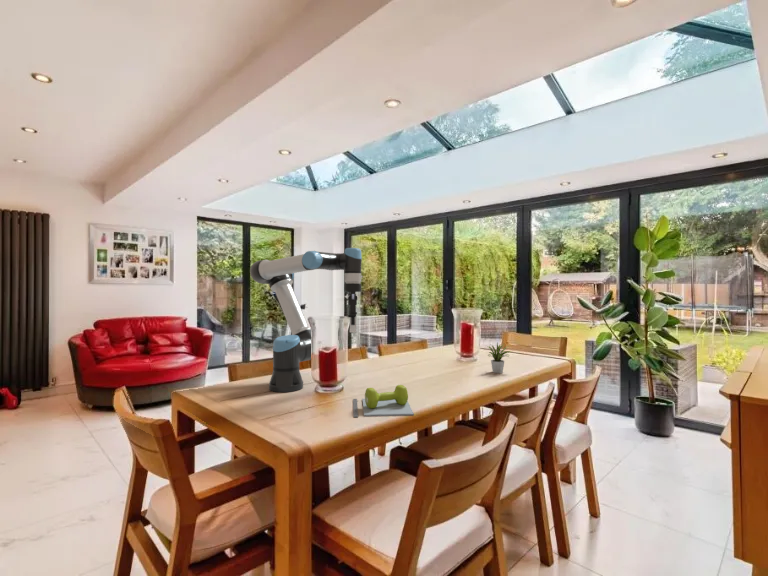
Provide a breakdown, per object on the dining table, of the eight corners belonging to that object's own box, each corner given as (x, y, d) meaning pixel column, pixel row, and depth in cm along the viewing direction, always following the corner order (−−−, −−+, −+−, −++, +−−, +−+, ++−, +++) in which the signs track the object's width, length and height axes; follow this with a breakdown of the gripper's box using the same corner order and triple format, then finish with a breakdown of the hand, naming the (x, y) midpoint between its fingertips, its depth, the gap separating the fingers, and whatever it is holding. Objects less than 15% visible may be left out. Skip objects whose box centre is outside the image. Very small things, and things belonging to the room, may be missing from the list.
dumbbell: (369, 411, 146) (369, 391, 146) (362, 404, 154) (363, 386, 153) (410, 406, 152) (410, 387, 152) (401, 400, 159) (401, 382, 159)
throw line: (353, 417, 141) (353, 416, 141) (353, 399, 163) (353, 398, 163) (358, 417, 141) (358, 416, 141) (357, 399, 163) (357, 398, 163)
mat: (364, 416, 142) (364, 414, 142) (362, 400, 162) (362, 398, 162) (413, 415, 144) (413, 413, 144) (405, 399, 163) (405, 397, 163)
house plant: (494, 376, 205) (494, 345, 205) (477, 371, 218) (478, 341, 217) (515, 374, 211) (516, 343, 210) (498, 368, 223) (498, 340, 223)
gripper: (362, 282, 164) (361, 334, 164) (360, 283, 189) (360, 327, 189) (344, 282, 163) (343, 334, 164) (344, 282, 188) (344, 327, 188)
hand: (352, 330), depth 176 cm, fingers open, 13 cm apart
